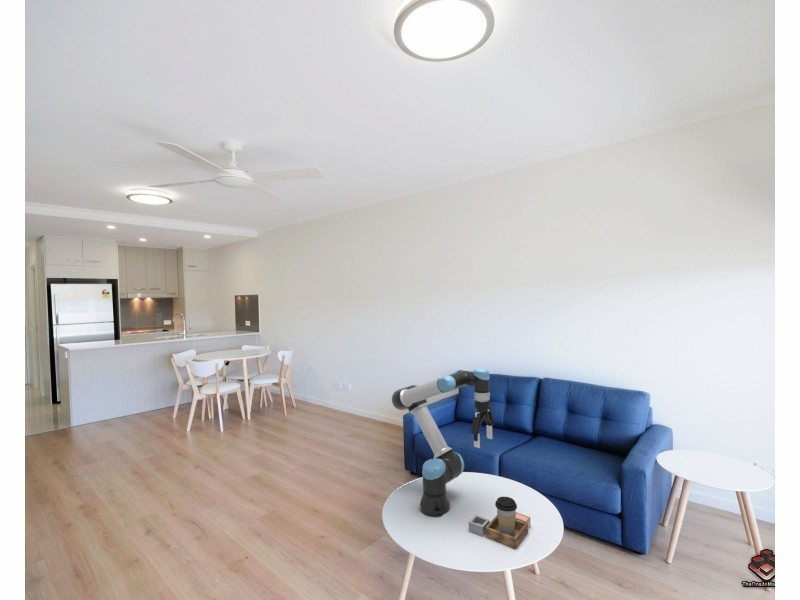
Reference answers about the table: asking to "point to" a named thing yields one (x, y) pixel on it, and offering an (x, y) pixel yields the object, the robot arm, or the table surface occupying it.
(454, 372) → the robot arm
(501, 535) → the walnut box
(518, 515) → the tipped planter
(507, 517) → the coffee cup
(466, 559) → the table surface
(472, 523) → the grey tub
